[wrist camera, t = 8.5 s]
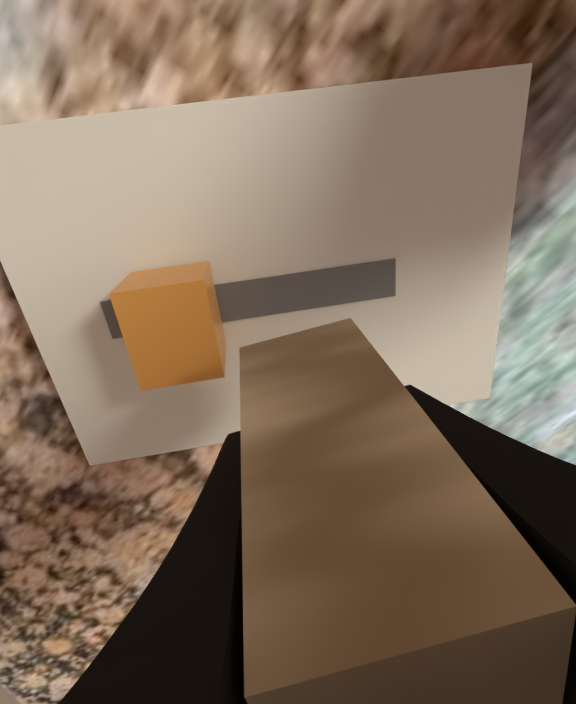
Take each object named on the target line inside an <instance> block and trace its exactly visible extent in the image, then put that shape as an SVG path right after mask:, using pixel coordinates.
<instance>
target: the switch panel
mask: <svg viewBox="0 0 576 704" xmlns="http://www.w3.org/2000/svg"><path fill="white" fill-rule="evenodd" d="M532 65H533V63H526V64H517V65H509V66H501V67H492V68H484V69H475V70H467V71H458V72H450V73H441V74H433V75H424V76H416V77H407V78H399V79H391V80H382V81H374V82H365V83H357V84H348V85H340V86H331V87H323V88H314V89H306V90H298V91H289V92H281V93H272V94H264V95H255V96H247V97H238V98H230V99H221V100H213V101H204V102H196V103H188V104H179V105H171V106H162V107H154V108H145V109H137V110H128V111H120V112H111V113H103V114H95V115H86V116H78V117H69V118H61V119H52V120H44V121H35V122H27V123H18V124H10V125H2V126H0V261H1V264H2V266H3V268H4V271H5V273H6V275H7V277H8V280H9V282H10V284H11V287H12V289H13V291H14V293H15V296H16V298H17V300H18V303H19V305H20V307H21V310H22V312H23V314H24V316H25V319H26V321H27V323H28V326H29V328H30V330H31V332H32V335H33V337H34V339H35V342H36V344H37V346H38V348H39V351H40V353H41V355H42V358H43V360H44V362H45V364H46V367H47V369H48V371H49V374H50V376H51V378H52V381H53V383H54V385H55V387H56V390H57V392H58V394H59V397H60V399H61V401H62V403H63V406H64V408H65V410H66V413H67V415H68V417H69V419H70V422H71V424H72V426H73V429H74V431H75V433H76V435H77V438H78V440H79V442H80V445H81V447H82V449H83V452H84V454H85V456H86V458H87V461H88V463H89V465H90V466H92V465H98V464H104V463H110V462H115V461H121V460H127V459H133V458H139V457H145V456H151V455H156V454H162V453H168V452H174V451H180V450H186V449H192V448H197V447H203V446H209V445H215V444H221V443H224V441H225V438H226V437H227V435H228V434H230V433H233V432H237V431H241V429H240V357H239V348H240V347H244V346H247V345H251V344H255V343H258V342H262V341H266V340H270V339H273V338H277V337H281V336H284V335H288V334H292V333H296V332H299V331H303V330H307V329H310V328H314V327H318V326H322V325H325V324H329V323H333V322H336V321H340V320H344V319H348V318H351V319H352V320H353V322H354V323H355V324H356V325H357V327H358V328H359V329H360V330H361V332H362V333H363V334H364V336H365V337H366V338H367V339H368V341H369V342H370V343H371V344H372V346H373V347H374V348H375V350H376V351H377V352H378V353H379V355H380V356H381V357H382V358H383V360H384V361H385V362H386V364H387V365H388V366H389V367H390V369H391V370H392V371H393V372H394V374H395V375H396V376H397V378H398V379H399V380H400V381H401V383H402V384H403V385H404V386H406V385H412V386H414V387H416V388H418V389H419V390H421V391H423V392H425V393H426V394H428V395H430V396H432V397H433V398H435V399H437V400H439V401H441V402H442V403H444V404H446V405H450V404H456V403H461V402H467V401H473V400H479V399H485V398H490V392H491V385H492V377H493V369H494V361H495V353H496V346H497V338H498V330H499V322H500V314H501V307H502V299H503V291H504V283H505V275H506V268H507V260H508V252H509V244H510V236H511V228H512V221H513V213H514V205H515V197H516V189H517V182H518V174H519V166H520V158H521V150H522V143H523V135H524V127H525V119H526V111H527V104H528V96H529V88H530V80H531V72H532ZM205 261H210V266H211V271H212V276H213V281H214V286H215V291H216V296H217V301H218V306H219V310H220V315H221V320H222V325H223V330H224V335H225V340H226V363H225V377H224V378H218V379H211V380H205V381H199V382H193V383H186V384H180V385H174V386H168V387H162V388H155V389H149V390H143V391H141V390H140V387H139V384H138V381H137V378H136V375H135V372H134V369H133V366H132V363H131V360H130V357H129V354H128V351H127V348H126V345H125V342H124V338H123V335H122V332H121V329H120V326H119V323H118V320H117V317H116V314H115V311H114V308H113V305H112V302H111V299H110V296H109V293H110V292H111V291H112V290H113V289H114V288H115V287H116V286H117V285H118V284H119V283H120V282H121V281H122V280H123V279H124V278H125V277H127V276H128V275H129V274H130V273H131V272H135V271H142V270H149V269H156V268H163V267H170V266H177V265H184V264H191V263H198V262H205Z"/></svg>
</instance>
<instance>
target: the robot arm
mask: <svg viewBox="0 0 576 704" xmlns="http://www.w3.org/2000/svg"><path fill="white" fill-rule="evenodd" d="M405 388H406V389H407V390H408V392H409V393H410V394H411V395H412V397H413V398H414V399H415V400H416V402H417V403H418V404H419V406H420V407H421V408H422V409H423V411H424V412H425V413H426V414H427V416H428V417H429V418H430V420H431V421H432V422H433V423H434V425H435V426H436V427H437V428H438V430H439V431H440V432H441V434H442V435H443V436H444V437H445V439H446V440H447V441H448V442H449V444H450V445H451V446H452V448H453V449H454V450H455V451H456V453H457V454H458V455H459V456H460V458H461V459H462V460H463V462H464V463H465V464H466V465H467V467H468V468H469V469H470V470H471V472H472V473H473V474H474V476H475V477H476V478H477V479H478V481H479V482H480V483H481V485H482V486H483V487H484V488H485V490H486V491H487V492H488V493H489V495H490V496H491V497H492V499H493V500H494V501H495V502H496V504H497V505H498V506H499V507H500V509H501V510H502V511H503V513H504V514H505V515H506V516H507V518H508V519H509V520H510V521H511V523H512V524H513V525H514V527H515V528H516V529H517V530H518V532H519V533H520V534H521V535H522V537H523V538H524V539H525V541H526V542H527V543H528V544H529V546H530V547H531V548H532V549H533V551H534V552H535V553H536V555H537V556H538V557H539V558H540V560H541V561H542V562H543V563H544V565H545V566H546V567H547V569H548V570H549V571H550V572H551V574H552V575H553V576H554V577H555V579H556V580H557V581H558V583H559V584H560V585H561V586H562V588H563V589H564V590H565V591H566V593H567V594H568V595H569V597H570V598H571V599H572V600H573V602H574V603H575V604H576V465H573V464H571V463H568V462H566V461H563V460H560V459H558V458H555V457H553V456H551V455H548V454H546V453H543V452H541V451H539V450H537V449H534V448H532V447H530V446H528V445H526V444H523V443H521V442H519V441H517V440H515V439H512V438H510V437H508V436H506V435H504V434H502V433H500V432H498V431H496V430H493V429H491V428H489V427H487V426H485V425H483V424H481V423H480V422H478V421H476V420H474V419H472V418H470V417H468V416H466V415H464V414H462V413H461V412H459V411H457V410H455V409H453V408H451V407H450V406H448V405H446V404H444V403H442V402H441V401H439V400H437V399H435V398H433V397H432V396H430V395H428V394H426V393H425V392H423V391H421V390H419V389H418V388H416V387H414V386H412V385H406V386H405ZM59 704H248V703H247V702H246V700H245V698H244V644H243V572H242V501H241V431H237V432H233V433H230V434H228V435H227V437H226V438H225V441H224V443H223V445H222V448H221V450H220V452H219V455H218V457H217V459H216V462H215V464H214V466H213V468H212V471H211V473H210V475H209V477H208V479H207V481H206V483H205V485H204V488H203V490H202V492H201V494H200V496H199V498H198V500H197V502H196V504H195V506H194V508H193V510H192V512H191V513H190V515H189V517H188V519H187V521H186V522H185V524H184V526H183V528H182V530H181V531H180V533H179V535H178V537H177V539H176V540H175V542H174V544H173V546H172V547H171V549H170V551H169V552H168V554H167V556H166V557H165V559H164V561H163V562H162V564H161V566H160V567H159V569H158V570H157V572H156V574H155V575H154V577H153V578H152V580H151V581H150V583H149V584H148V586H147V587H146V589H145V590H144V592H143V593H142V595H141V596H140V598H139V599H138V601H137V602H136V604H135V605H134V606H133V608H132V609H131V611H130V612H129V613H128V615H127V616H126V617H125V619H124V620H123V622H122V623H121V624H120V626H119V627H118V628H117V630H116V631H115V632H114V634H113V635H112V636H111V638H110V639H109V640H108V642H107V643H106V644H105V646H104V647H103V648H102V650H101V651H100V652H99V654H98V655H97V656H96V658H95V659H94V660H93V662H92V663H91V664H90V666H89V667H88V668H87V669H86V671H85V672H84V673H83V674H82V676H81V677H80V678H79V679H78V681H77V682H76V683H75V684H74V686H73V687H72V688H71V689H70V690H69V692H68V693H67V694H66V695H65V697H64V698H63V699H62V700H61V701H60V703H59ZM562 704H576V615H575V622H574V629H573V635H572V642H571V649H570V656H569V662H568V669H567V676H566V683H565V689H564V696H563V703H562Z"/></svg>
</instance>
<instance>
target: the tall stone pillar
mask: <svg viewBox="0 0 576 704" xmlns="http://www.w3.org/2000/svg"><path fill="white" fill-rule="evenodd" d="M239 357H240V429H241V501H242V572H243V644H244V698H245V700H246V702H247V703H248V704H562V703H563V696H564V689H565V683H566V676H567V669H568V662H569V656H570V649H571V642H572V635H573V629H574V622H575V615H576V604H575V603H574V602H573V600H572V599H571V598H570V597H569V595H568V594H567V593H566V591H565V590H564V589H563V588H562V586H561V585H560V584H559V583H558V581H557V580H556V579H555V577H554V576H553V575H552V574H551V572H550V571H549V570H548V569H547V567H546V566H545V565H544V563H543V562H542V561H541V560H540V558H539V557H538V556H537V555H536V553H535V552H534V551H533V549H532V548H531V547H530V546H529V544H528V543H527V542H526V541H525V539H524V538H523V537H522V535H521V534H520V533H519V532H518V530H517V529H516V528H515V527H514V525H513V524H512V523H511V521H510V520H509V519H508V518H507V516H506V515H505V514H504V513H503V511H502V510H501V509H500V507H499V506H498V505H497V504H496V502H495V501H494V500H493V499H492V497H491V496H490V495H489V493H488V492H487V491H486V490H485V488H484V487H483V486H482V485H481V483H480V482H479V481H478V479H477V478H476V477H475V476H474V474H473V473H472V472H471V470H470V469H469V468H468V467H467V465H466V464H465V463H464V462H463V460H462V459H461V458H460V456H459V455H458V454H457V453H456V451H455V450H454V449H453V448H452V446H451V445H450V444H449V442H448V441H447V440H446V439H445V437H444V436H443V435H442V434H441V432H440V431H439V430H438V428H437V427H436V426H435V425H434V423H433V422H432V421H431V420H430V418H429V417H428V416H427V414H426V413H425V412H424V411H423V409H422V408H421V407H420V406H419V404H418V403H417V402H416V400H415V399H414V398H413V397H412V395H411V394H410V393H409V392H408V390H407V389H406V388H405V386H404V385H403V384H402V383H401V381H400V380H399V379H398V378H397V376H396V375H395V374H394V372H393V371H392V370H391V369H390V367H389V366H388V365H387V364H386V362H385V361H384V360H383V358H382V357H381V356H380V355H379V353H378V352H377V351H376V350H375V348H374V347H373V346H372V344H371V343H370V342H369V341H368V339H367V338H366V337H365V336H364V334H363V333H362V332H361V330H360V329H359V328H358V327H357V325H356V324H355V323H354V322H353V320H352V319H351V318H348V319H344V320H340V321H336V322H333V323H329V324H325V325H322V326H318V327H314V328H310V329H307V330H303V331H299V332H296V333H292V334H288V335H284V336H281V337H277V338H273V339H270V340H266V341H262V342H258V343H255V344H251V345H247V346H244V347H240V348H239Z"/></svg>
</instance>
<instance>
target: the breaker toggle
mask: <svg viewBox="0 0 576 704" xmlns="http://www.w3.org/2000/svg"><path fill="white" fill-rule="evenodd" d="M109 296H110V299H111V302H112V305H113V308H114V311H115V314H116V317H117V320H118V323H119V326H120V329H121V332H122V335H123V338H124V342H125V345H126V348H127V351H128V354H129V357H130V360H131V363H132V366H133V369H134V372H135V375H136V378H137V381H138V384H139V387H140V390H141V391H143V390H149V389H155V388H162V387H168V386H174V385H180V384H186V383H193V382H199V381H205V380H211V379H218V378H224V377H225V363H226V340H225V335H224V330H223V325H222V320H221V315H220V310H219V306H218V301H217V296H216V291H215V286H214V281H213V276H212V271H211V266H210V261H205V262H198V263H191V264H184V265H177V266H170V267H163V268H156V269H149V270H142V271H135V272H131V273H130V274H129V275H128V276H127V277H125V278H124V279H123V280H122V281H121V282H120V283H119V284H118V285H117V286H116V287H115V288H114V289H113V290H112V291H111V292H110V293H109Z"/></svg>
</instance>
